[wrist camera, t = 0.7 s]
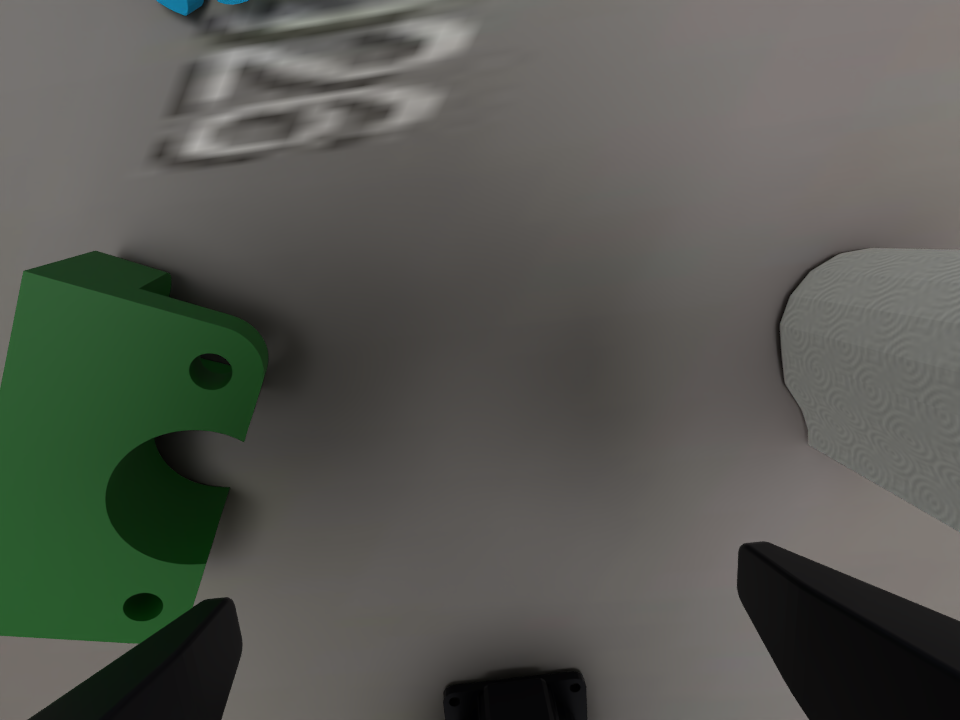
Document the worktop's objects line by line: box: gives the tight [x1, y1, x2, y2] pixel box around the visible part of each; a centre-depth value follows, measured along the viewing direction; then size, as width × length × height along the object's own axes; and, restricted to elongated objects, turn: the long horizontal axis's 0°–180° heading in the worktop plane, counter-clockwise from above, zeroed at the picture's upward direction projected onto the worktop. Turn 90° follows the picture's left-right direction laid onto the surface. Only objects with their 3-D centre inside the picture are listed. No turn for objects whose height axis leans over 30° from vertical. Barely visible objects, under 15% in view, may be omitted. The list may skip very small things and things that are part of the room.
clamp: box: [0, 251, 268, 643], centre depth 17 cm, size 12×6×9 cm, turn 153°
